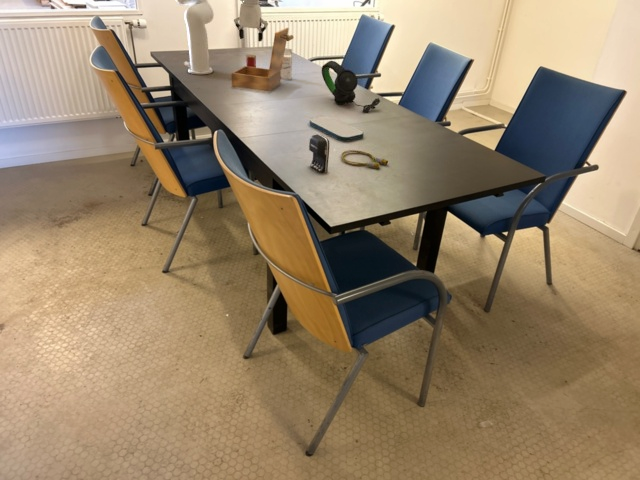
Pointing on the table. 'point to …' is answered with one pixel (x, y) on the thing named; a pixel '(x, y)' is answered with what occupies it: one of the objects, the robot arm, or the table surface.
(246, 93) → the table surface
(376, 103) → the headset
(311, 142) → the battery charger
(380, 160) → the extension cord
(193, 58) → the robot arm
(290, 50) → the ink cartridge box
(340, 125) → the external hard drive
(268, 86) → the tea box
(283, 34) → the tea box lid
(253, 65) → the tea tin
